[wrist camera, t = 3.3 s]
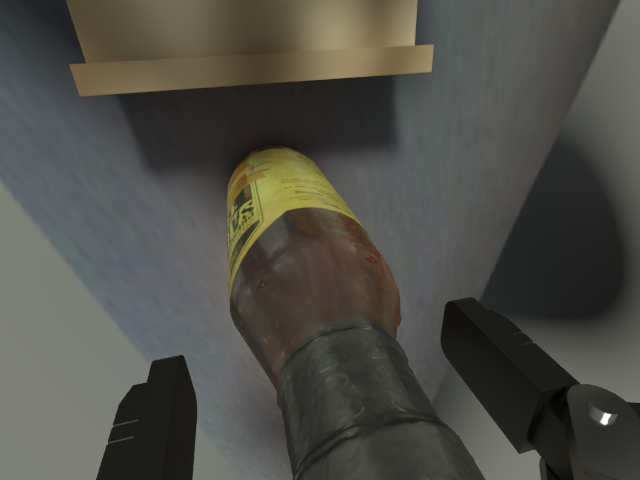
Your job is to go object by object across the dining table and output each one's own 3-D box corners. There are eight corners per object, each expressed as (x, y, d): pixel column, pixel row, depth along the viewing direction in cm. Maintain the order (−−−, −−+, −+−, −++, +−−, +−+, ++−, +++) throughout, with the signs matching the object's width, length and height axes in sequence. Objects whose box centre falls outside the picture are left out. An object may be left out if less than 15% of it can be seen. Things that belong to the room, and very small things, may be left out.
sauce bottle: (219, 145, 21) (190, 486, 4) (319, 138, 23) (609, 381, 5) (234, 240, 24) (251, 664, 7) (321, 229, 26) (512, 571, 8)
